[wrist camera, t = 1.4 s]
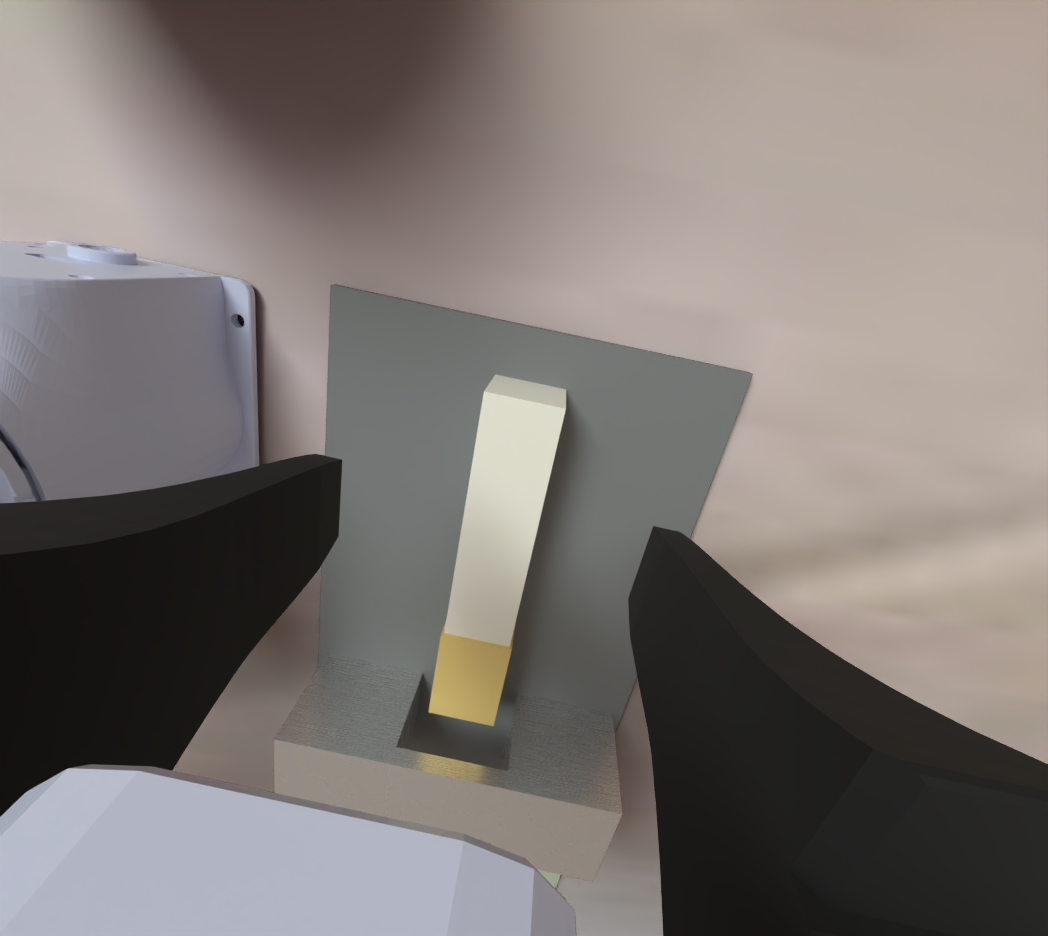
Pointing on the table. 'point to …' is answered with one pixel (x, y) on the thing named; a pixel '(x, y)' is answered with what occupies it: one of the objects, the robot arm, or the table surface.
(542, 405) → the plug
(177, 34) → the table surface
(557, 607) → the mat
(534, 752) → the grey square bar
